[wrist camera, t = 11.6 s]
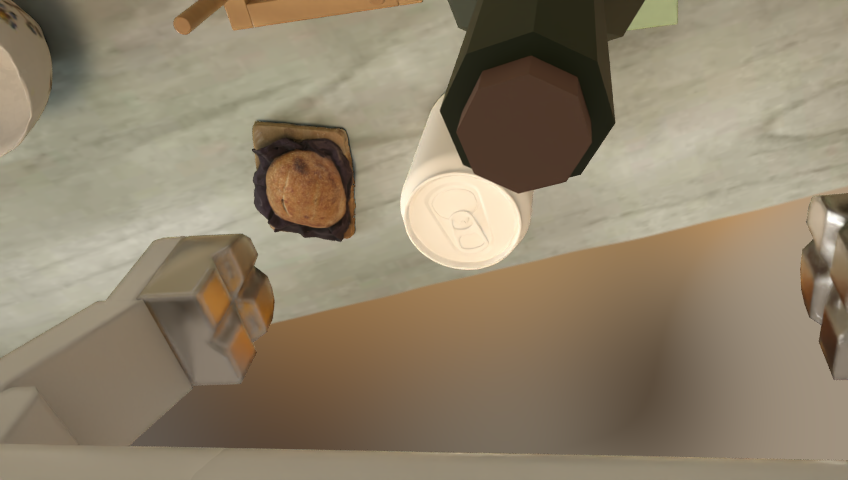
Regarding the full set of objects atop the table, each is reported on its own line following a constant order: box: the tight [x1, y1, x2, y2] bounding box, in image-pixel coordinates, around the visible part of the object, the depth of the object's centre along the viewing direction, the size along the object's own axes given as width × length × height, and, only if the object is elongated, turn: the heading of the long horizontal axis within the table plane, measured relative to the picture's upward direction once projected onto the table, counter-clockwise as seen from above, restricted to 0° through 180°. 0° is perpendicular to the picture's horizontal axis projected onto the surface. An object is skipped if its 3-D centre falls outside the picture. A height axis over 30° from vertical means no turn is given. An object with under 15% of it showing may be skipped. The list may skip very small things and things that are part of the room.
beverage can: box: [400, 94, 534, 270], centre depth 46 cm, size 8×8×12 cm
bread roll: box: [252, 121, 356, 242], centre depth 55 cm, size 11×8×4 cm
